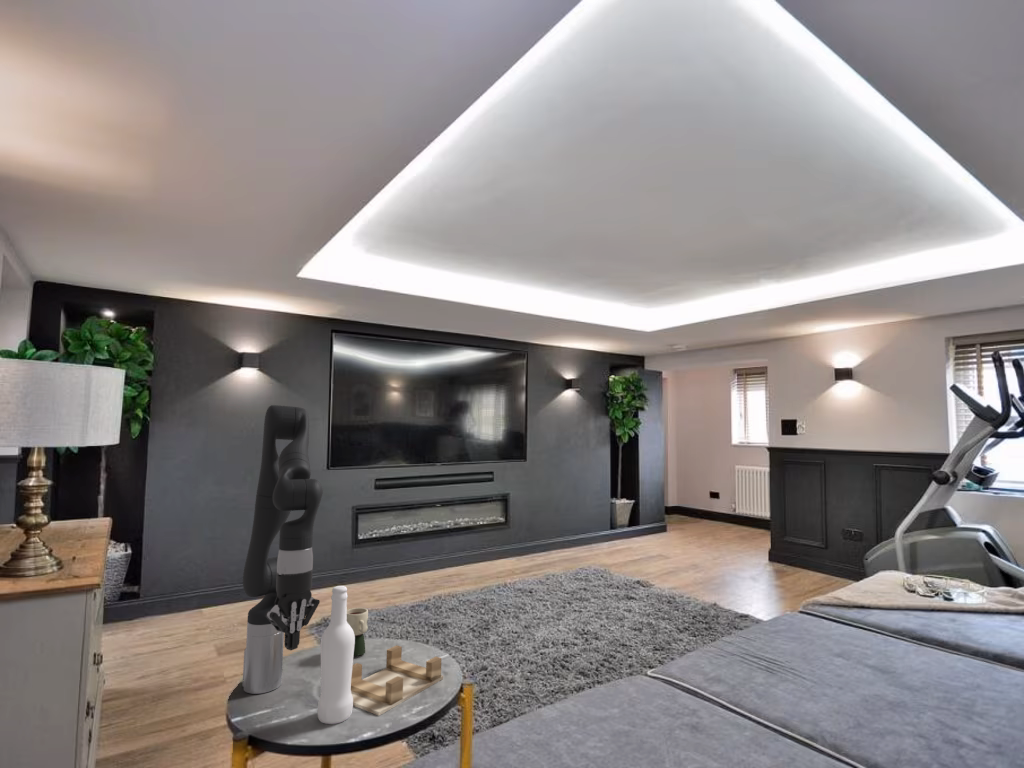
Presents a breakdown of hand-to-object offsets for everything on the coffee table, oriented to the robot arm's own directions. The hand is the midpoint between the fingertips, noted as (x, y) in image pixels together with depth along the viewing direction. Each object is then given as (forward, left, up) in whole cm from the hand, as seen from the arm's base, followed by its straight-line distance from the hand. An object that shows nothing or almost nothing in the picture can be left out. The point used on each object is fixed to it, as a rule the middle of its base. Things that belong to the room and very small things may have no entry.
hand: (291, 648), depth 119 cm
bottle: (0, +13, -20) cm, 24 cm away
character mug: (-25, +41, -20) cm, 52 cm away
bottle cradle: (0, +31, -20) cm, 37 cm away
